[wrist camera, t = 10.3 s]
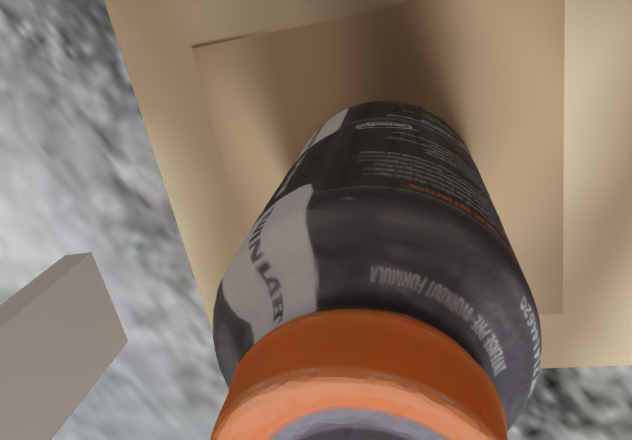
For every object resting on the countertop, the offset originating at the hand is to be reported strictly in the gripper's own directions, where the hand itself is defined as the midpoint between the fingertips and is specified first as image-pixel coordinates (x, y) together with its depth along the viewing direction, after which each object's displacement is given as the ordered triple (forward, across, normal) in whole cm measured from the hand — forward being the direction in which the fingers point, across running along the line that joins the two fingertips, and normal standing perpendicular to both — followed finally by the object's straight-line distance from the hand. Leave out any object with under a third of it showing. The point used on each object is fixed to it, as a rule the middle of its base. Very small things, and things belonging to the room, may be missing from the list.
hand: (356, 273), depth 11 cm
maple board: (+7, +1, 0) cm, 7 cm away
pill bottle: (+6, +1, 0) cm, 6 cm away
